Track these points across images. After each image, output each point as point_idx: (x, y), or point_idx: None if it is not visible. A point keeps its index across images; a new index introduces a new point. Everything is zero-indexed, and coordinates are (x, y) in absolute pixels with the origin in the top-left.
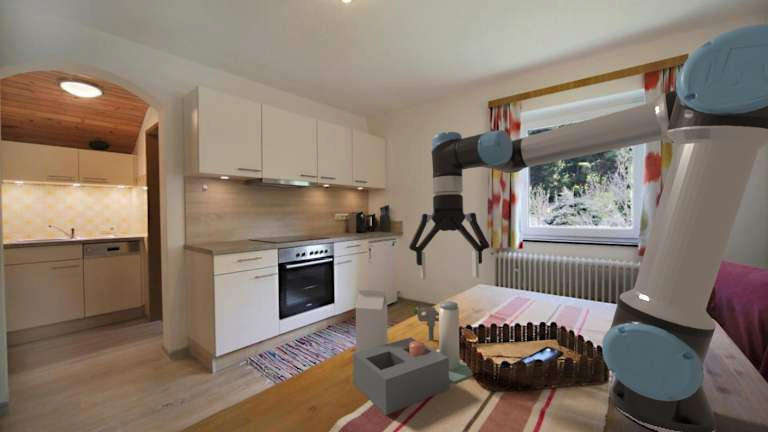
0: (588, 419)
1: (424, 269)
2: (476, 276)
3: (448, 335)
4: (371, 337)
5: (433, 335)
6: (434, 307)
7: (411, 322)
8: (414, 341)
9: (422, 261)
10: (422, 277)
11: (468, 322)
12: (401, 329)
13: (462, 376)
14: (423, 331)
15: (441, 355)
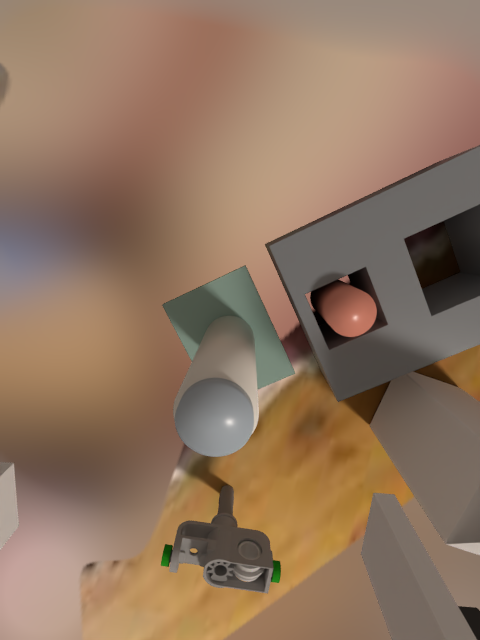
0: (7, 81)
1: (409, 553)
2: (5, 468)
3: (236, 343)
4: (466, 409)
5: (220, 497)
6: (204, 578)
7: (249, 607)
8: (353, 334)
9: (468, 630)
10: (397, 506)
11: (81, 582)
12: (291, 566)
13: (215, 285)
14: None
15: (285, 262)
